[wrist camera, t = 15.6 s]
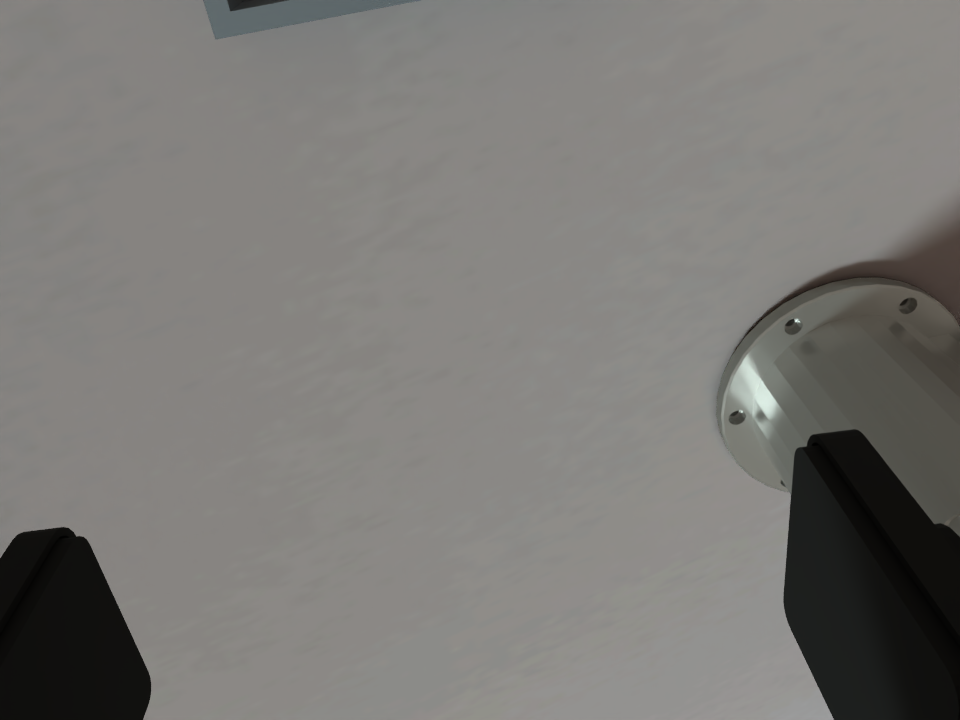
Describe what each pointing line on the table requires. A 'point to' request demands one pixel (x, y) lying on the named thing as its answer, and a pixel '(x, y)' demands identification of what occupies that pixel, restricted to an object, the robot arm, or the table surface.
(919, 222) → the table surface
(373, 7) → the slate tray
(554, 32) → the table surface
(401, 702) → the table surface
